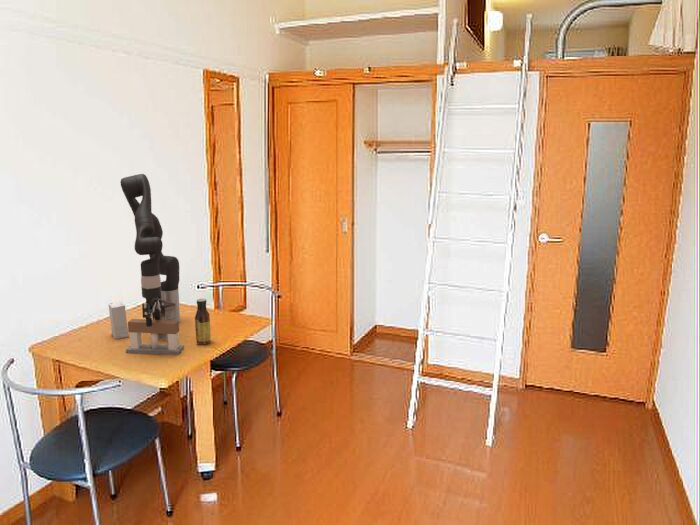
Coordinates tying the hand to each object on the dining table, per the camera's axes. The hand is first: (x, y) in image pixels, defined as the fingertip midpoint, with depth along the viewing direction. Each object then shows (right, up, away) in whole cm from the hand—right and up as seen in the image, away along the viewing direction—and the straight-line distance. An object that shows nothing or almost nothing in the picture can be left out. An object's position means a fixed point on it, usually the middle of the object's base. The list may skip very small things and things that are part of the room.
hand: (153, 322), depth 223 cm
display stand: (0, -12, +3) cm, 12 cm away
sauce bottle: (+17, -10, +13) cm, 24 cm away
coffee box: (-1, -9, +18) cm, 20 cm away
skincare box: (-22, -8, +19) cm, 31 cm away
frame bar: (0, -4, +1) cm, 4 cm away
